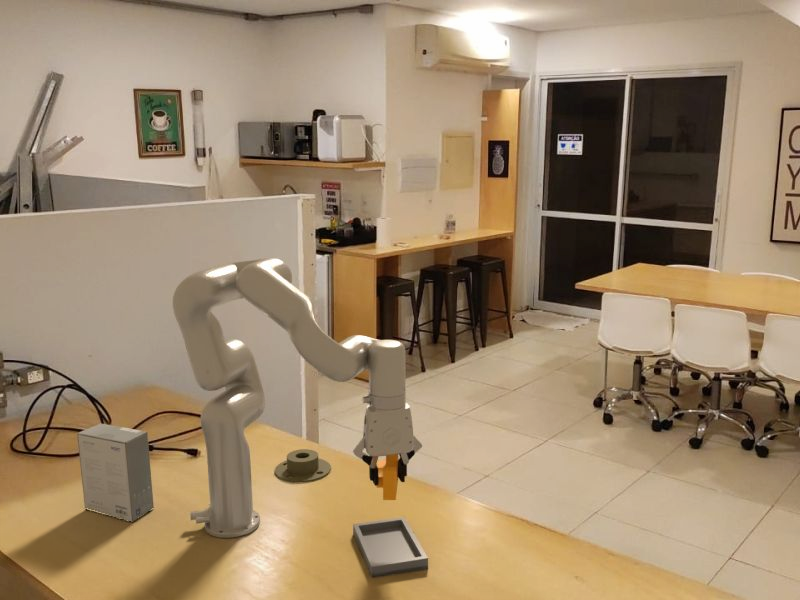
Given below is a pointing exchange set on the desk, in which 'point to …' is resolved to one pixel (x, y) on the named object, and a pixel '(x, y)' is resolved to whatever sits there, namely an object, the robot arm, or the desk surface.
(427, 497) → the desk surface
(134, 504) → the hard drive box
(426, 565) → the parts tray
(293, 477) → the flange
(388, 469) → the orange blocky piece
